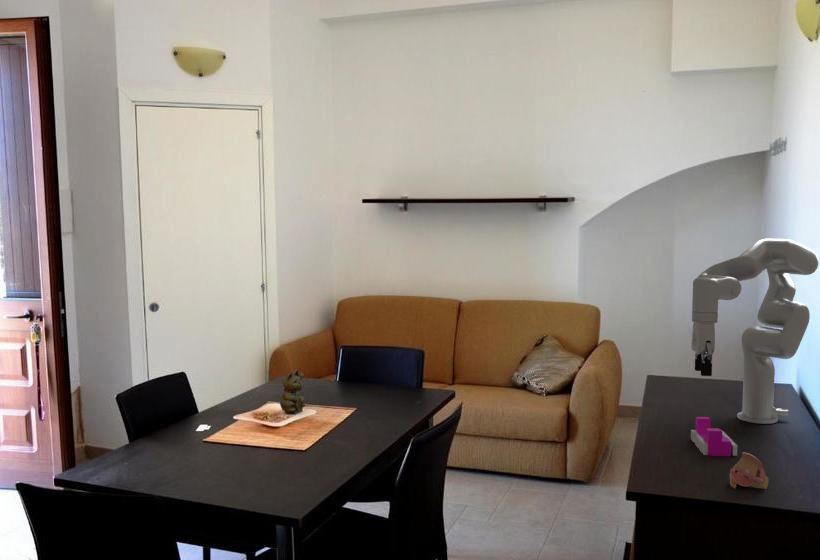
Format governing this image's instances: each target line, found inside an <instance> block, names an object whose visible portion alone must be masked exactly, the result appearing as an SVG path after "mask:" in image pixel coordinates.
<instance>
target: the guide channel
mask: <svg viewBox="0 0 820 560" xmlns="http://www.w3.org/2000/svg"><path fill="white" fill-rule="evenodd" d="M722 437H727V438H728V439H729V440H730V441H731V455H732V456H733V457H734V456H735V457H738V444H737V443H736V442H734V440H733V439H732V438H731V437H730V436H728V435H727V433H726V432H725V431H723V430H722ZM690 440H691V441H692V442H694V443H695V444H694V443H693V444H694V446H696V447H697V449H698V448H699V449H698V450H699V451H700V452H701V454H702V453H703V454H702V455H704V456H709V455H708V444H707V443H706V442H705V441H704V440H703V438H702V437H701V436H700V435H699V434H698V433H697V432H696V429H690Z"/></svg>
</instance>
